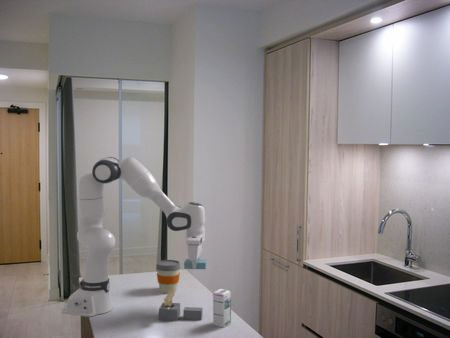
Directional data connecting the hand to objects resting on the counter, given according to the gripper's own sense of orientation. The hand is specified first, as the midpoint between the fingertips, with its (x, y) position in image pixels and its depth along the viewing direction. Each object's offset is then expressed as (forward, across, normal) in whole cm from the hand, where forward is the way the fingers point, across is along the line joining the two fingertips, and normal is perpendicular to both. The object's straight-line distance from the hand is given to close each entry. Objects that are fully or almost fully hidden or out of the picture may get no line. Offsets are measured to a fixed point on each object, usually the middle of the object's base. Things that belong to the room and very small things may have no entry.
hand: (195, 266), depth 214 cm
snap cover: (+1, 0, 0) cm, 1 cm away
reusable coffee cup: (+20, -24, -18) cm, 36 cm away
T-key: (+20, +12, -10) cm, 26 cm away
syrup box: (+20, +18, +14) cm, 31 cm away
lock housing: (+20, +12, -5) cm, 24 cm away
